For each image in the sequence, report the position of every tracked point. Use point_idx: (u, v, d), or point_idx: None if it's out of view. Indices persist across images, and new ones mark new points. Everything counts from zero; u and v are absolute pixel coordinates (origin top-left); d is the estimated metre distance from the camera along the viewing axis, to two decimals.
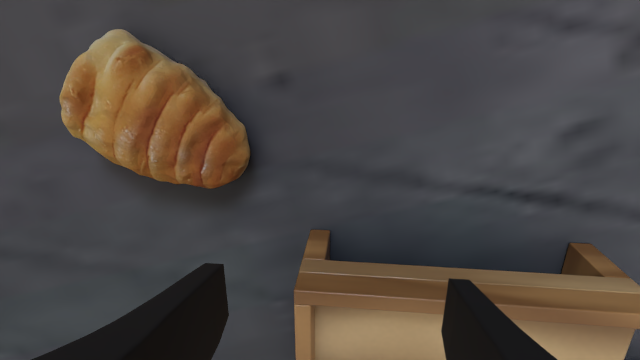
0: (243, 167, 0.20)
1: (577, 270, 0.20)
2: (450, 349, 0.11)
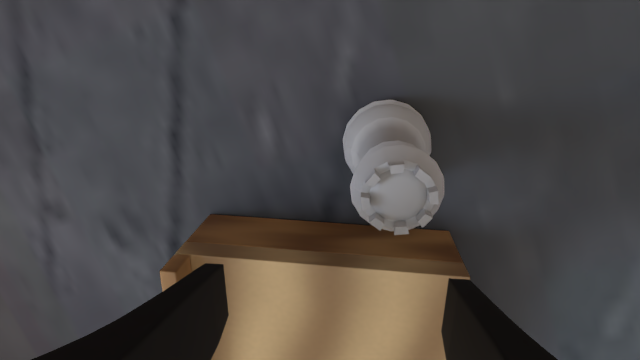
0: None
1: None
2: (450, 349, 0.11)
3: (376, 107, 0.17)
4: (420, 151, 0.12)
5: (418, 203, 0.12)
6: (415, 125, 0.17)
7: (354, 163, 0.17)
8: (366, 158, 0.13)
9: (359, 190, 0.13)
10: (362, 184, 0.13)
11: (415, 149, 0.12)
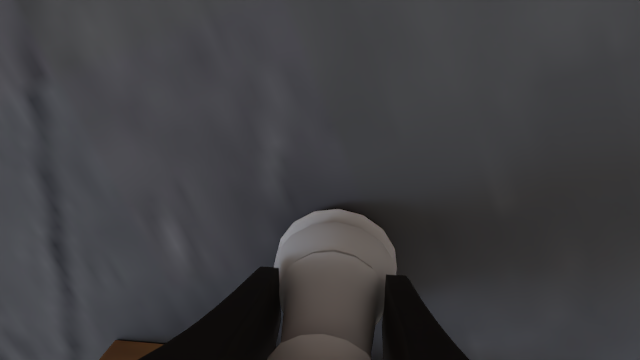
0: None
1: None
2: (384, 344, 0.11)
3: (313, 229, 0.12)
4: None
5: None
6: (369, 258, 0.12)
7: (283, 310, 0.12)
8: None
9: None
10: None
11: None
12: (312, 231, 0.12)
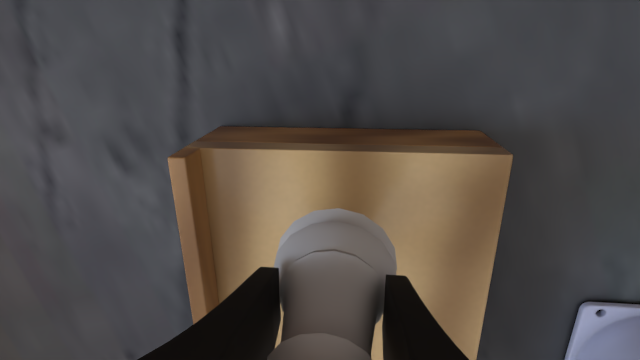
0: None
1: None
2: (385, 344, 0.11)
3: (313, 228, 0.12)
4: None
5: None
6: (369, 257, 0.12)
7: (283, 309, 0.12)
8: None
9: None
10: None
11: None
12: (312, 230, 0.12)
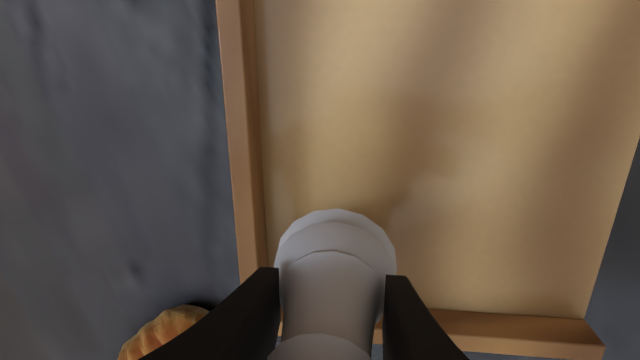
0: (200, 317, 0.21)
1: None
2: (384, 344, 0.11)
3: (313, 229, 0.12)
4: None
5: None
6: (369, 258, 0.12)
7: (283, 310, 0.12)
8: None
9: None
10: None
11: None
12: (312, 230, 0.12)
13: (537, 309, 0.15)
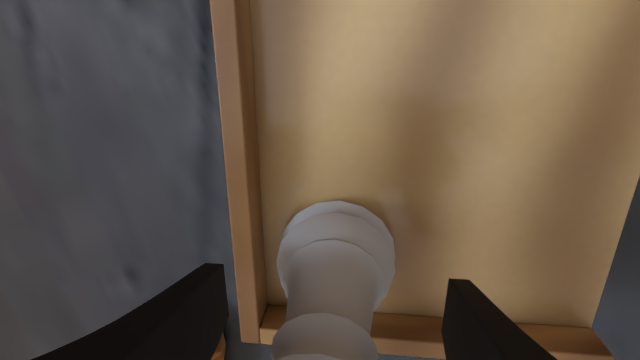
0: None
1: None
2: (450, 349, 0.11)
3: (315, 219, 0.13)
4: None
5: None
6: (368, 246, 0.12)
7: (287, 296, 0.13)
8: None
9: None
10: None
11: None
12: (314, 221, 0.13)
13: (543, 317, 0.15)
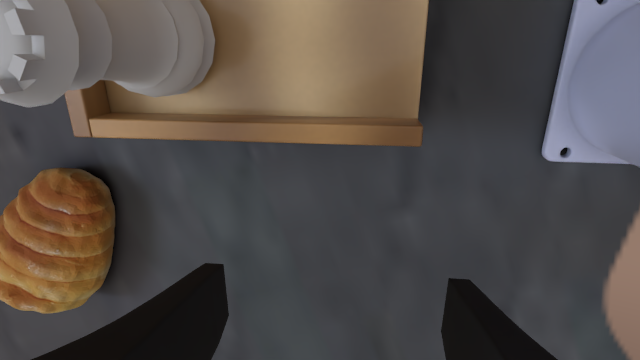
0: (77, 175, 0.21)
1: None
2: (450, 349, 0.11)
3: None
4: None
5: (16, 43, 0.08)
6: None
7: None
8: None
9: None
10: None
11: None
12: None
13: (370, 109, 0.15)
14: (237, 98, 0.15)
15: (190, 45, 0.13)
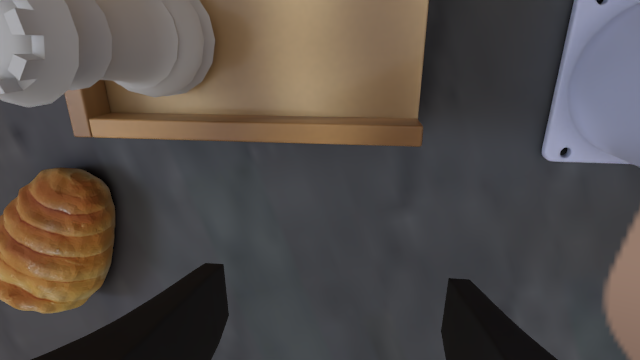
0: (77, 175, 0.21)
1: None
2: (450, 349, 0.11)
3: None
4: None
5: (16, 43, 0.08)
6: None
7: None
8: None
9: None
10: None
11: None
12: None
13: (370, 109, 0.15)
14: (237, 98, 0.15)
15: (190, 45, 0.13)
